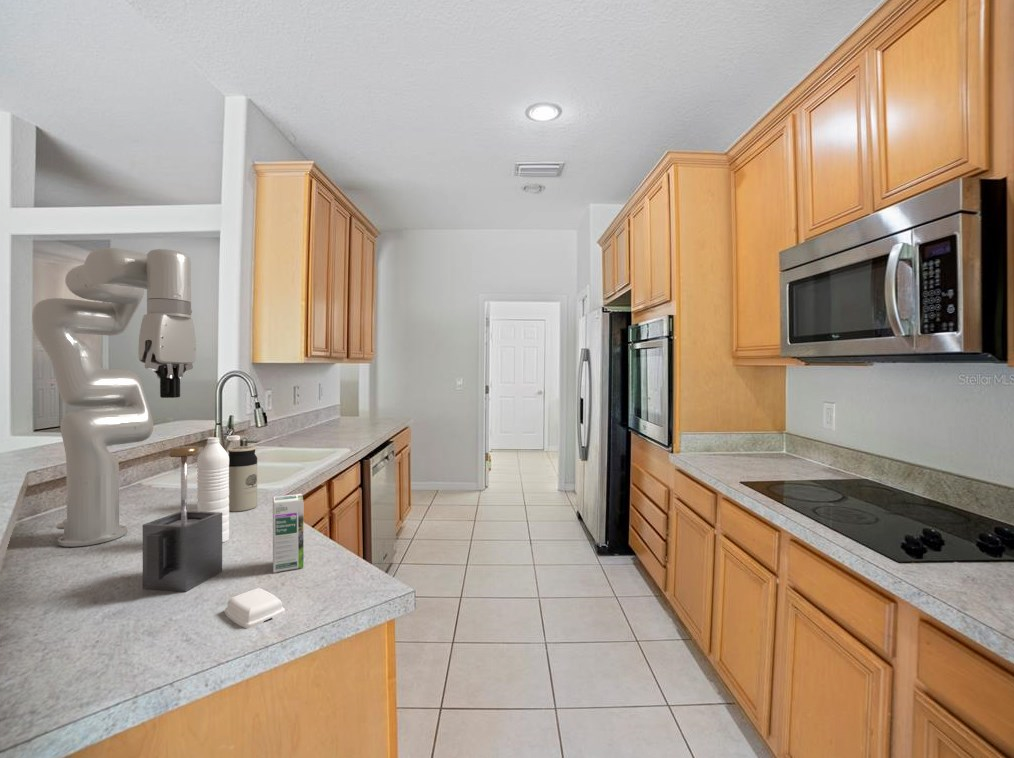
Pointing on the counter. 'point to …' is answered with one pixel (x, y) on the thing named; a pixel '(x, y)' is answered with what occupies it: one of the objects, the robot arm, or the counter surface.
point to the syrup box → (288, 533)
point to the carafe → (182, 551)
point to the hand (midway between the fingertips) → (170, 397)
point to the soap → (253, 608)
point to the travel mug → (242, 478)
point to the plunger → (183, 479)
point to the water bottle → (214, 481)
